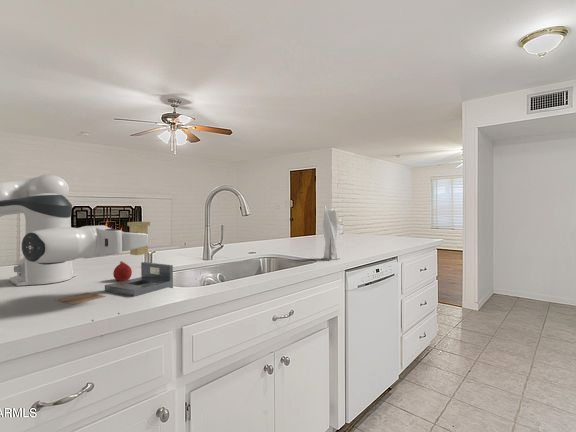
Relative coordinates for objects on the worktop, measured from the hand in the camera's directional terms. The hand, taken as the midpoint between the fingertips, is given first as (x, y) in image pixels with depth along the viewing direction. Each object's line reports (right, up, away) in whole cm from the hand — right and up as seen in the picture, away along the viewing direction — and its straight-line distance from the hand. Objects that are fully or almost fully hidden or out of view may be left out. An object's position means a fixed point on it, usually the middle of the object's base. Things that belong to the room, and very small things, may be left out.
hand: (141, 237), depth 99 cm
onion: (-12, -18, +12) cm, 24 cm away
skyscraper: (+69, -16, +64) cm, 95 cm away
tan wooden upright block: (0, -5, -1) cm, 5 cm away
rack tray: (0, -17, 0) cm, 18 cm away
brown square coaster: (-12, -18, -11) cm, 24 cm away
